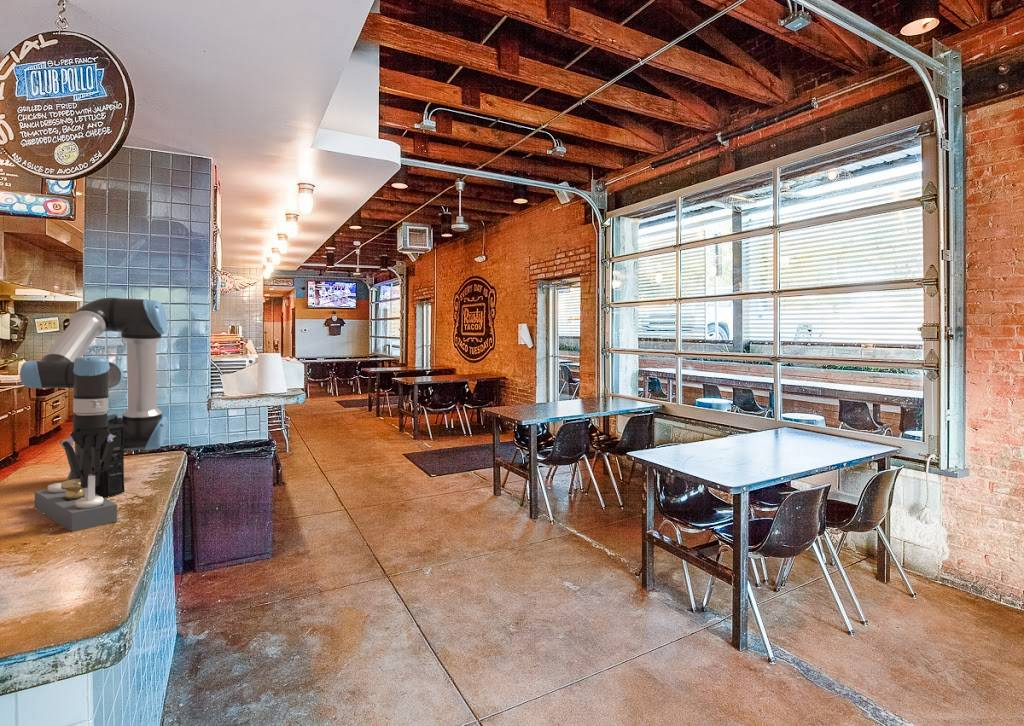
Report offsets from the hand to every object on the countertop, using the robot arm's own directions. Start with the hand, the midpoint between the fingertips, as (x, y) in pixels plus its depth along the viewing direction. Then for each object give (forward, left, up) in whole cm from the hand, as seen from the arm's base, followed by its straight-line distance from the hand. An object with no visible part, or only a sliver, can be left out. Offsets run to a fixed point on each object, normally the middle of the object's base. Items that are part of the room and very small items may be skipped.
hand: (89, 498), depth 144 cm
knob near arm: (0, -22, -6) cm, 23 cm away
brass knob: (0, -11, -3) cm, 12 cm away
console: (0, -11, -7) cm, 13 cm away
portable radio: (-13, -26, -7) cm, 30 cm away
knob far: (0, 0, -6) cm, 6 cm away
